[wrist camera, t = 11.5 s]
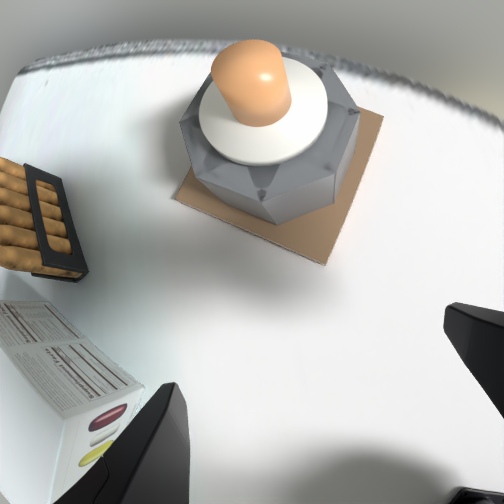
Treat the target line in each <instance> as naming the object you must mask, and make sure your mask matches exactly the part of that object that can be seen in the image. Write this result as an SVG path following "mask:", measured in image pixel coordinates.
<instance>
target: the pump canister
mask: <svg viewBox="0 0 504 504" xmlns="http://www.w3.org/2000/svg"><path fill="white" fill-rule="evenodd" d="M280 53H281V55H282V57H286V58H289V59H293V60H296V61H298V62H300V63H302V64H304V65H306V66H307V67H309V68H310V69H311V70H312V71H314V72H315V73H316V74H317V76H318V77H319V78H320V80H321V81H322V83H323V85H324V87H325V90H326V94H327V104H328V115H327V121H326V124H325V127H324V129H323V131H322V133H321V135H320V136H319V138H318V139H317V140H316V142H315V143H314V144H313V145H312V146H311V147H310V148H309V149H307V150H306V151H305V152H303V153H302V154H300V155H299V156H297V157H295V158H293V159H291V160H289V161H286V162H283V163H280V164H276V165H271V166H248V165H243V164H239V163H236V162H233V161H231V160H229V159H227V158H225V157H224V156H222V155H221V154H220V153H219V152H217V150H216V149H215V148H214V147H213V146H212V145H211V143H210V142H209V141H208V140H207V138H206V137H205V135H204V133H203V131H202V129H201V126H200V122H199V108H200V104H201V100H202V98H203V95H204V93H205V91H206V90H207V88H208V87H209V85H210V84H211V83H212V82H213V78H212V76H211V72H210V74H209V75H208V77H207V78H206V80H205V81H204V83H203V85H202V86H201V88H200V89H199V91H198V92H197V94H196V96H195V97H194V99H193V101H192V102H191V104H190V106H189V107H188V109H187V111H186V112H185V114H184V116H183V117H182V119H181V121H180V122H179V123H180V126H181V130H182V133H183V136H184V140H185V143H186V147H187V150H188V153H189V157H190V160H191V163H192V166H191V168H190V170H189V172H188V174H187V176H186V178H185V180H184V182H183V184H182V186H181V188H180V190H179V192H178V194H177V196H176V198H175V199H176V200H178V201H179V202H181V203H183V204H185V205H187V206H190V207H192V208H195V209H197V210H199V211H201V212H204V213H206V214H208V215H211V216H213V217H215V218H218V219H220V220H222V221H225V222H227V223H229V224H232V225H234V226H236V227H238V228H241V229H243V230H245V231H248V232H250V233H252V234H254V235H257V236H259V237H261V238H264V239H266V240H268V241H270V242H273V243H275V244H277V245H279V246H282V247H284V248H286V249H288V250H291V251H293V252H295V253H297V254H300V255H302V256H304V257H306V258H309V259H311V260H313V261H315V262H318V263H320V264H322V265H324V266H326V264H327V262H328V259H329V257H330V255H331V252H332V250H333V248H334V246H335V243H336V241H337V239H338V236H339V234H340V231H341V229H342V227H343V224H344V222H345V220H346V217H347V215H348V212H349V210H350V207H351V205H352V202H353V200H354V197H355V195H356V192H357V190H358V187H359V185H360V182H361V179H362V177H363V174H364V172H365V169H366V166H367V164H368V161H369V158H370V156H371V153H372V150H373V147H374V145H375V142H376V139H377V136H378V133H379V131H380V128H381V125H382V121H383V118H384V116H382V115H379V114H376V113H374V112H371V111H369V110H366V109H363V108H360V107H358V106H356V104H355V102H354V101H353V99H352V98H351V96H350V95H349V93H348V91H347V90H346V88H345V87H344V85H343V84H342V82H341V81H340V79H339V78H338V76H337V75H336V73H335V72H334V71H333V69H332V68H331V66H330V65H329V63H326V62H322V61H318V60H315V59H311V58H306V57H302V56H298V55H293V54H289V53H284V52H280Z"/></svg>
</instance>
